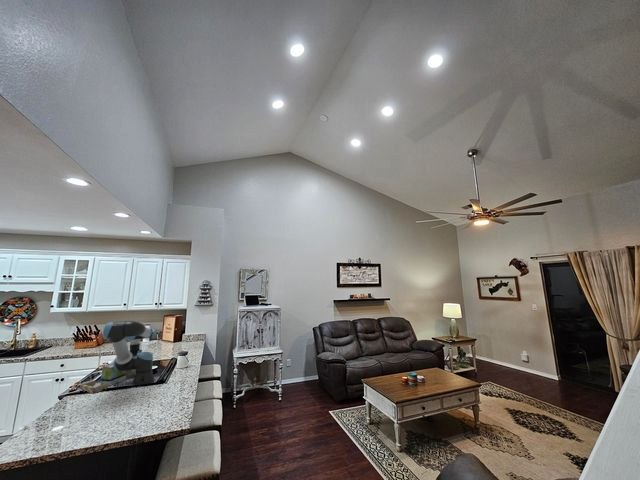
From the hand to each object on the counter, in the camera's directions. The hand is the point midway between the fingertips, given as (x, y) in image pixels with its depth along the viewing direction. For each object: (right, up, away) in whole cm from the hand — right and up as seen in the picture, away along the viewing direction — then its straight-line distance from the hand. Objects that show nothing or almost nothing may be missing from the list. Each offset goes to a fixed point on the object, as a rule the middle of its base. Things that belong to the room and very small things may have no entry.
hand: (133, 370), depth 247 cm
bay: (-11, -1, -29) cm, 32 cm away
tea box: (-6, -3, -15) cm, 17 cm away
